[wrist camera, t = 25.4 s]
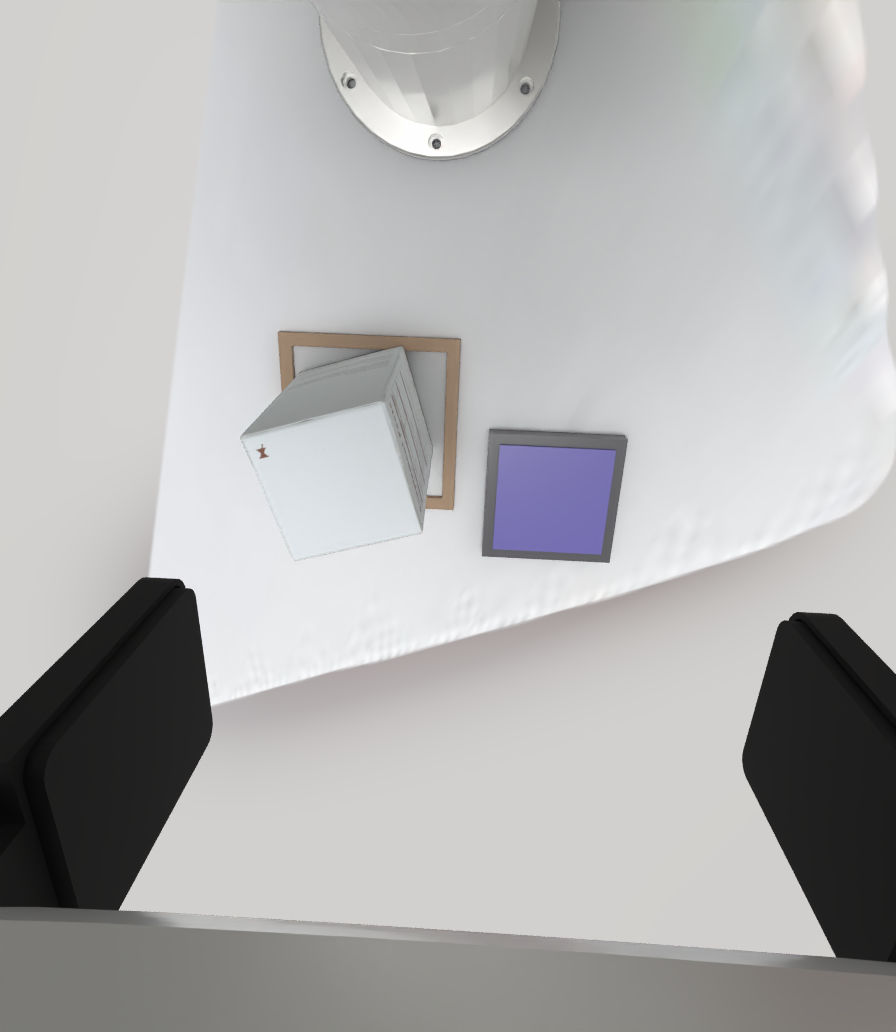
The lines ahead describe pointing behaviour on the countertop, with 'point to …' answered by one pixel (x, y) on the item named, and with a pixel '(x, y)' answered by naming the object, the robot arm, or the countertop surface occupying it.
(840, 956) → the robot arm
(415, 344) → the tan picture frame
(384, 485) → the supplement box
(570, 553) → the ink pad
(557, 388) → the countertop surface
